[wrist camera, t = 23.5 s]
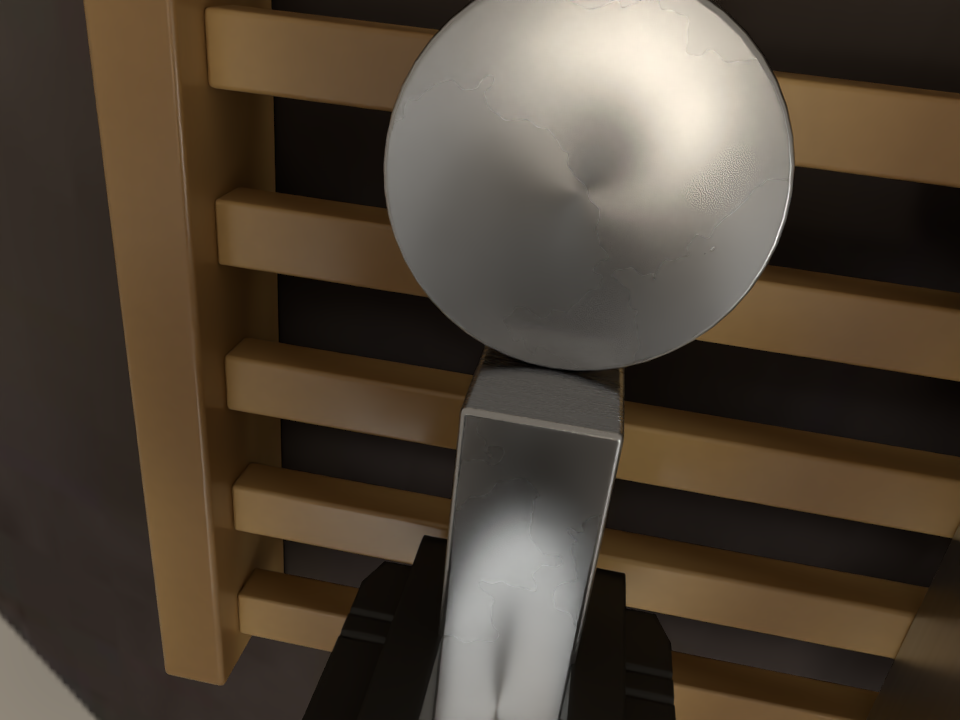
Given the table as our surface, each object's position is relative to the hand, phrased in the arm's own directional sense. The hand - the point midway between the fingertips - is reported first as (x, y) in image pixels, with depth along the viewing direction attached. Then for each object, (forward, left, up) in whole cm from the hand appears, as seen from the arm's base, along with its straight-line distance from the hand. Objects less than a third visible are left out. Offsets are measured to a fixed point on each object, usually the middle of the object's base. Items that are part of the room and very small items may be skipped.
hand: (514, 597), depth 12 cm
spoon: (0, +2, 0) cm, 3 cm away
